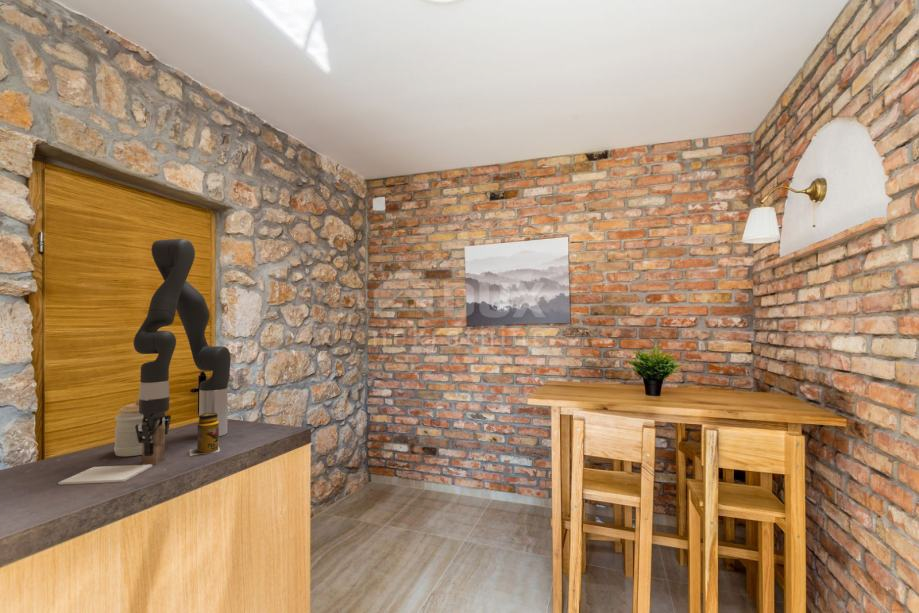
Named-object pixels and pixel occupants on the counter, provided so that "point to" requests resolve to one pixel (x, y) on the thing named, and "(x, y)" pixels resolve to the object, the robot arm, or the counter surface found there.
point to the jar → (128, 431)
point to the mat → (106, 474)
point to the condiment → (207, 435)
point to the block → (156, 447)
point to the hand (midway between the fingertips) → (153, 453)
